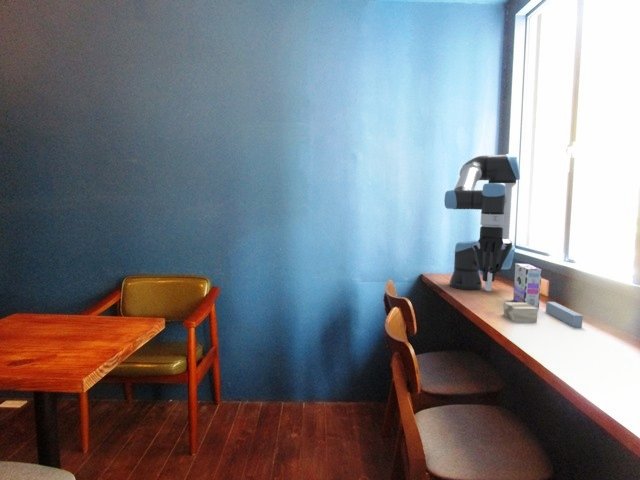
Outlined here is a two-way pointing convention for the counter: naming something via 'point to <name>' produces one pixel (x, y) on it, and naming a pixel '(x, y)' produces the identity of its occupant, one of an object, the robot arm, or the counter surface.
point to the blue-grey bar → (564, 314)
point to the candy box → (527, 284)
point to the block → (520, 312)
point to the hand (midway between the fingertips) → (487, 289)
